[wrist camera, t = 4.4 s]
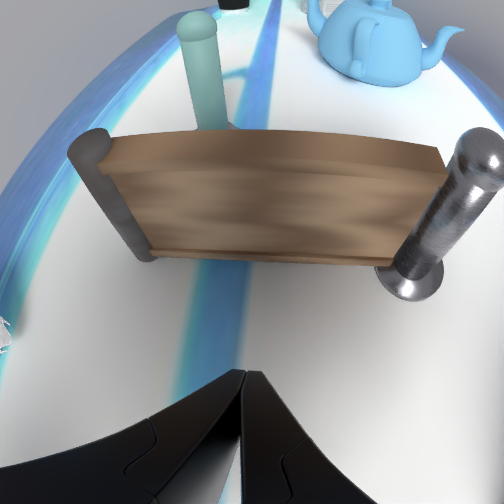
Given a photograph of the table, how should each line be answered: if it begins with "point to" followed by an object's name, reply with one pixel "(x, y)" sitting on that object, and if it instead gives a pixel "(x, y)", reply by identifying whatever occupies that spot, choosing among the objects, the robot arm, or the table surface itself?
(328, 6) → the supplement box
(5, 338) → the elephant figurine
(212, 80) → the post
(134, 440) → the robot arm
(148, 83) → the table surface
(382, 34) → the teapot
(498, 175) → the hinge post
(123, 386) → the table surface
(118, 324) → the table surface
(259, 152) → the gate
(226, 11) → the dixie cup
